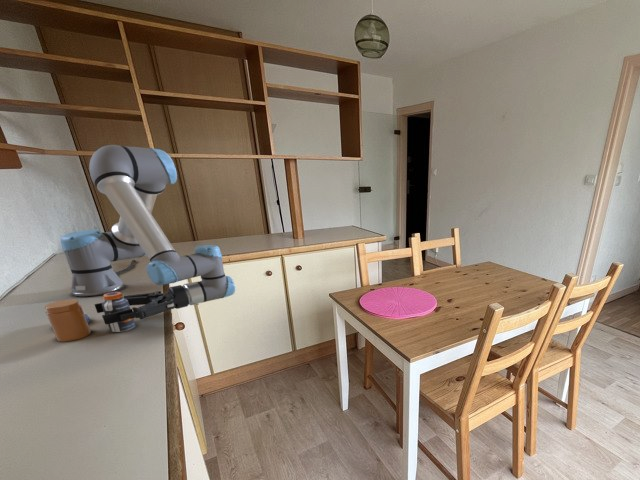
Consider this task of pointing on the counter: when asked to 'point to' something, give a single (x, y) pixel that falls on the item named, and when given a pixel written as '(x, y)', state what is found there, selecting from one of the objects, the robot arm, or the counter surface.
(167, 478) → the counter surface
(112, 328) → the pill bottle
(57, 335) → the jar
